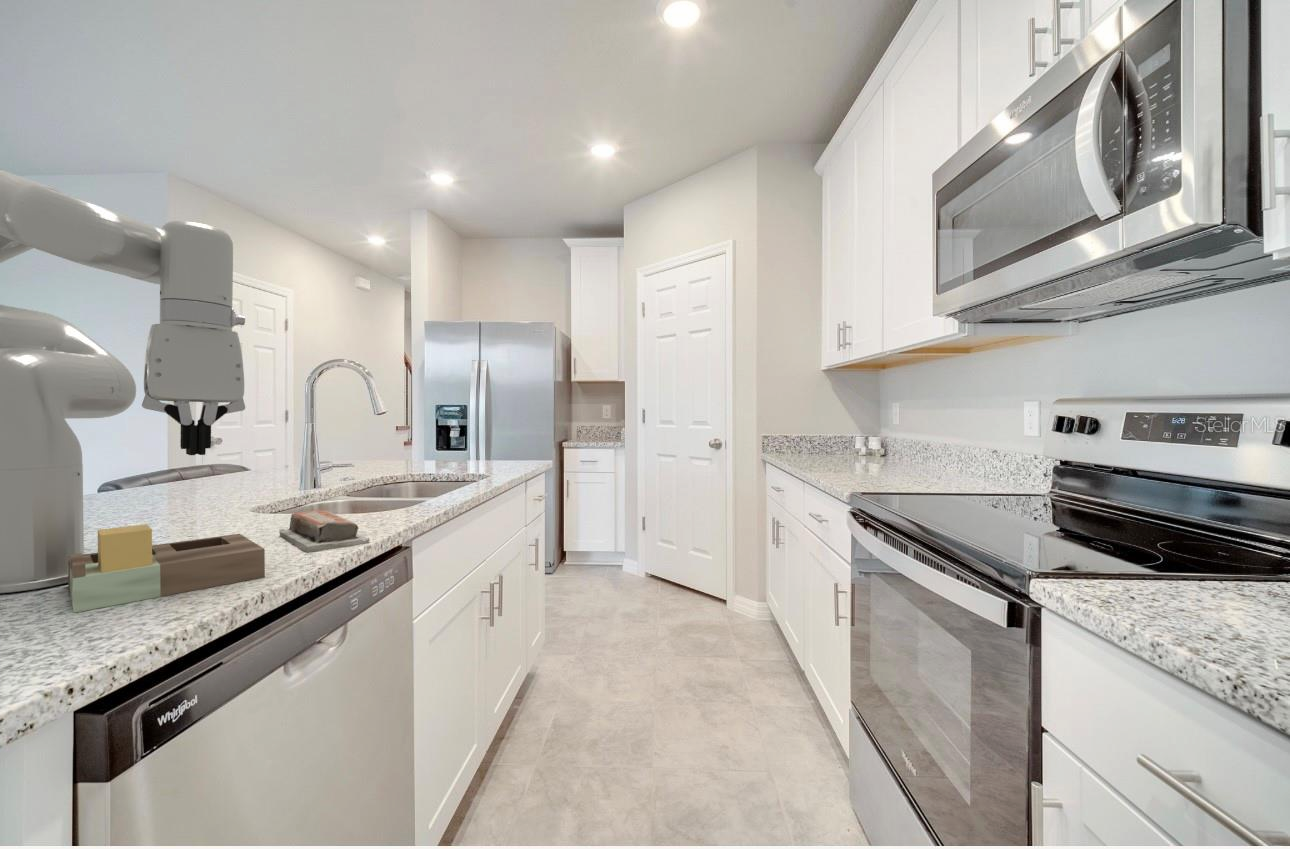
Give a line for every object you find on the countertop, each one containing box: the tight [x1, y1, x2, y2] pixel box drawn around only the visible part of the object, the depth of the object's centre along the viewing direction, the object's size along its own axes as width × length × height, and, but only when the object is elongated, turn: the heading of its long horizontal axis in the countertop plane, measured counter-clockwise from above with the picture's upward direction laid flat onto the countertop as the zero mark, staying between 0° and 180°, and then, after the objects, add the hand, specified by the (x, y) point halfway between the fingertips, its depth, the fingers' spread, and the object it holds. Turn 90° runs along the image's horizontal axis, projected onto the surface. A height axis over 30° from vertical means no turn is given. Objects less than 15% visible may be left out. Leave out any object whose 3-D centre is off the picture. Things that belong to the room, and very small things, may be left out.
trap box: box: [67, 533, 266, 614], centre depth 74 cm, size 14×18×6 cm
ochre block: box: [97, 524, 153, 573], centre depth 67 cm, size 4×4×4 cm
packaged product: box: [278, 509, 370, 554], centre depth 99 cm, size 18×5×10 cm
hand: (195, 454), depth 73 cm, fingers closed
